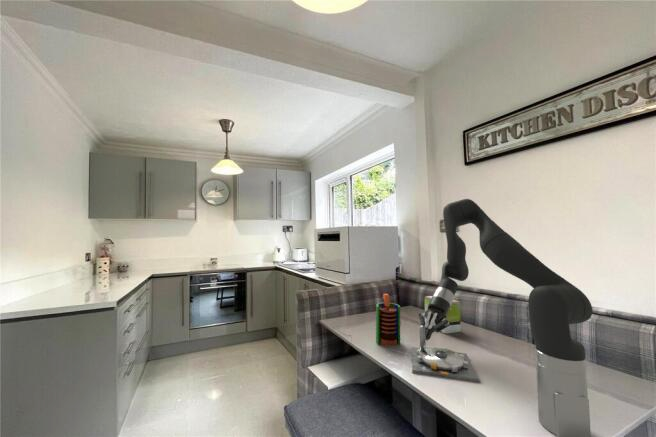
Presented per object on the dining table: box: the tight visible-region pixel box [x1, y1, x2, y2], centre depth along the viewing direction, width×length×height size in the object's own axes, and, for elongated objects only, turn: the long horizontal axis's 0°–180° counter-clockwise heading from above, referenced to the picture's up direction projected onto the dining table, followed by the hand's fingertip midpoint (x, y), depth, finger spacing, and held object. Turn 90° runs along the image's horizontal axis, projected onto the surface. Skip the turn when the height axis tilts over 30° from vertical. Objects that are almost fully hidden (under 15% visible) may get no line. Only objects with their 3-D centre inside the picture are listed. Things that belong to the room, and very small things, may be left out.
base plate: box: [411, 346, 480, 383], centre depth 97 cm, size 20×20×1 cm
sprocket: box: [417, 324, 468, 372], centre depth 97 cm, size 17×17×10 cm
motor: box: [375, 293, 401, 347], centre depth 118 cm, size 10×9×20 cm
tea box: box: [424, 295, 462, 334], centre depth 137 cm, size 15×10×15 cm
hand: (424, 338), depth 103 cm, fingers closed
